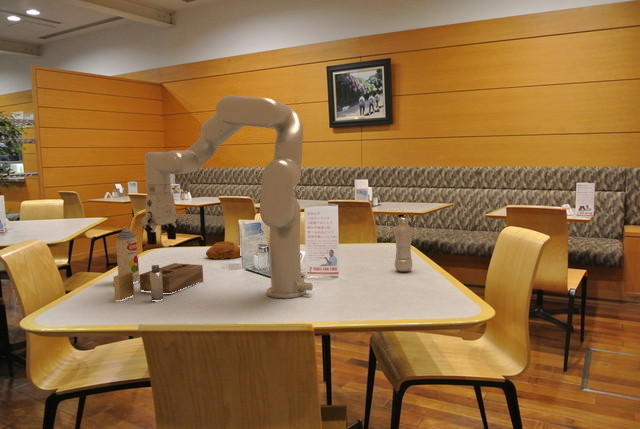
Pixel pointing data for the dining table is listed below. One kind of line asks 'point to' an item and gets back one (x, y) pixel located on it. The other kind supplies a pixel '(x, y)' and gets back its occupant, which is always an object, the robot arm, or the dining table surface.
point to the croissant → (223, 250)
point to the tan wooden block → (123, 286)
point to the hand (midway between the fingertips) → (162, 241)
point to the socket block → (174, 277)
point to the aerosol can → (127, 253)
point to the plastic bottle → (403, 245)
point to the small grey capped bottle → (156, 283)
